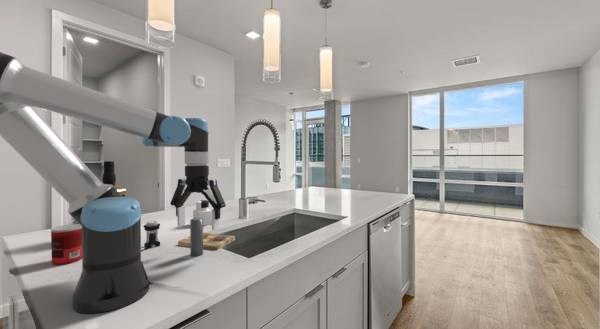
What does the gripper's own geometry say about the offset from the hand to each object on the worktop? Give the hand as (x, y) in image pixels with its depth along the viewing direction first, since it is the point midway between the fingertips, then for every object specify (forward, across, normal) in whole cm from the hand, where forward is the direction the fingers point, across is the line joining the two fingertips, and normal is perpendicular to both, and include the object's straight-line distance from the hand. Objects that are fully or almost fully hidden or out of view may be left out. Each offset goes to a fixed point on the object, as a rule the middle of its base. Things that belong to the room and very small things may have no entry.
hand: (198, 227), depth 89 cm
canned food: (+10, +38, +15) cm, 42 cm away
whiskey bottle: (+10, +51, -8) cm, 53 cm away
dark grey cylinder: (+9, 0, 0) cm, 9 cm away
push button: (+10, +21, 0) cm, 24 cm away
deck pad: (+10, 0, 0) cm, 10 cm away
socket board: (+10, +5, -12) cm, 16 cm away
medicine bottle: (+11, +27, -38) cm, 48 cm away
